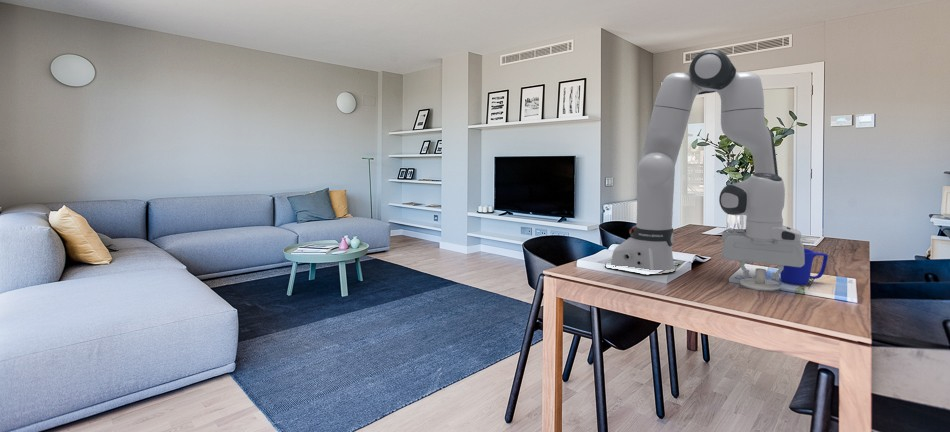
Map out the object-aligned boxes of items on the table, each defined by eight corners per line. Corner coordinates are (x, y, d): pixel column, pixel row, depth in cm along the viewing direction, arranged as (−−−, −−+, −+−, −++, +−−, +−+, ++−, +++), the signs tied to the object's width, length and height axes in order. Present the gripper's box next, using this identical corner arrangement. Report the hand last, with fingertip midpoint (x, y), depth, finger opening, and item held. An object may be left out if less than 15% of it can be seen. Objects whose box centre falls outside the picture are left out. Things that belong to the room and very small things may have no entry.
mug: (832, 288, 131) (835, 253, 129) (784, 286, 133) (787, 252, 132) (817, 280, 139) (820, 247, 137) (772, 278, 141) (775, 246, 140)
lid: (738, 287, 132) (739, 271, 131) (741, 279, 140) (742, 263, 139) (779, 293, 126) (781, 276, 126) (780, 283, 135) (782, 267, 134)
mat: (738, 288, 132) (738, 287, 132) (741, 280, 140) (741, 278, 140) (779, 294, 126) (779, 292, 126) (780, 285, 135) (780, 283, 135)
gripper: (720, 229, 134) (718, 275, 136) (807, 235, 123) (803, 285, 125) (723, 226, 139) (721, 270, 141) (806, 231, 128) (802, 280, 130)
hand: (760, 277), depth 133 cm, fingers open, 6 cm apart
